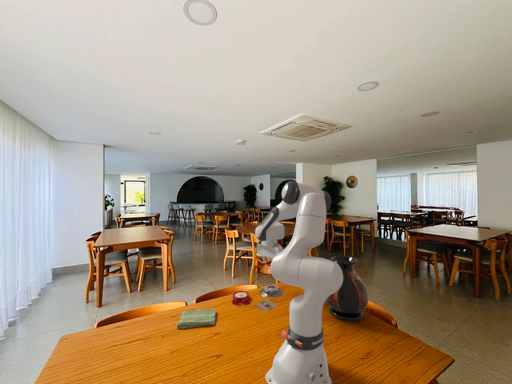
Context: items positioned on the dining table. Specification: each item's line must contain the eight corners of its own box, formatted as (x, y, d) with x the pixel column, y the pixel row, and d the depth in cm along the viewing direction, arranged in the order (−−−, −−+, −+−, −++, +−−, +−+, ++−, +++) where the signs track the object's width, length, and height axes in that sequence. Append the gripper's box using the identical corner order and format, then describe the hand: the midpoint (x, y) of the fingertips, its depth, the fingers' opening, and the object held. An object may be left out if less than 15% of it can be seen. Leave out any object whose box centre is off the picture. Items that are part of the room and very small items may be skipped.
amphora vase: (323, 301, 122) (322, 252, 123) (365, 306, 116) (363, 255, 117) (323, 322, 102) (322, 263, 103) (373, 330, 95) (371, 267, 96)
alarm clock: (249, 290, 131) (249, 295, 117) (249, 301, 130) (249, 307, 115) (232, 290, 131) (230, 295, 116) (232, 301, 129) (230, 308, 115)
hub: (271, 302, 122) (271, 295, 122) (254, 293, 134) (254, 287, 134) (288, 294, 132) (288, 288, 132) (271, 287, 143) (271, 281, 144)
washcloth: (215, 326, 100) (215, 319, 100) (176, 331, 97) (176, 323, 97) (216, 312, 113) (216, 306, 113) (181, 315, 110) (181, 309, 110)
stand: (265, 314, 109) (265, 310, 109) (253, 307, 117) (253, 303, 117) (279, 308, 116) (278, 303, 116) (266, 301, 123) (266, 297, 123)
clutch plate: (278, 292, 132) (278, 287, 133) (269, 296, 127) (269, 291, 128) (271, 289, 137) (271, 284, 137) (262, 292, 132) (262, 287, 132)
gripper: (285, 244, 128) (286, 267, 128) (262, 239, 144) (262, 260, 143) (278, 245, 124) (278, 269, 123) (255, 241, 140) (255, 262, 139)
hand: (270, 264), depth 133 cm, fingers open, 8 cm apart
